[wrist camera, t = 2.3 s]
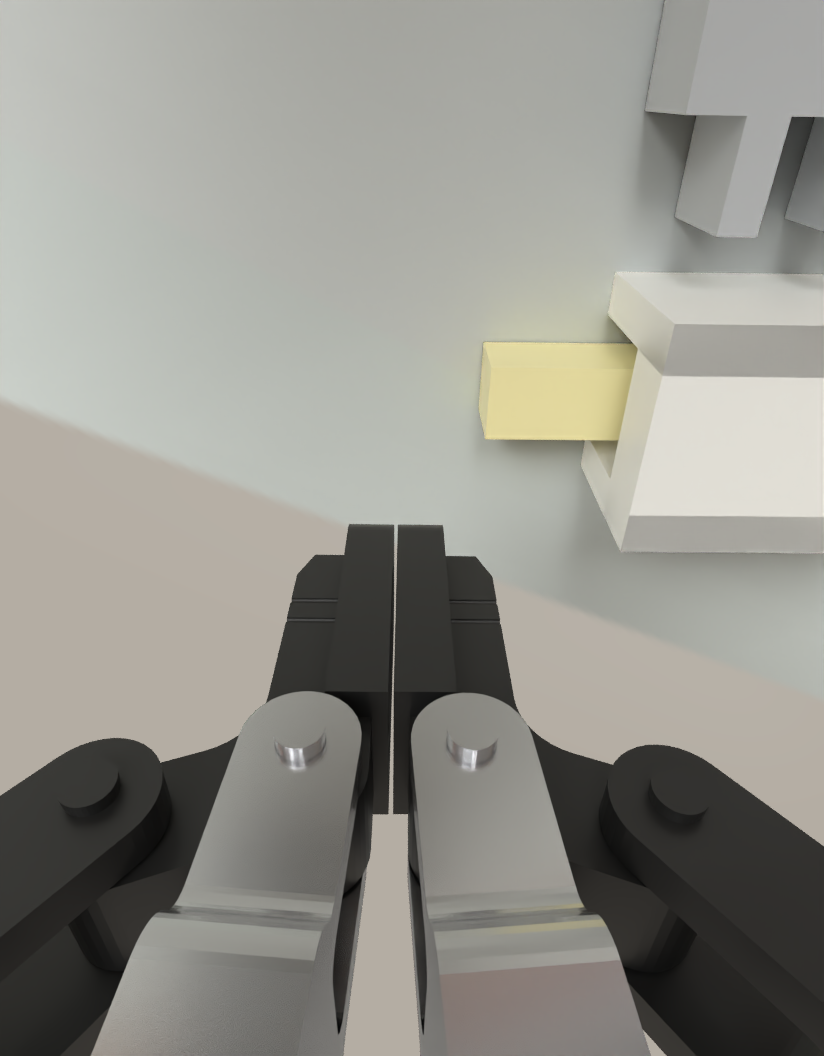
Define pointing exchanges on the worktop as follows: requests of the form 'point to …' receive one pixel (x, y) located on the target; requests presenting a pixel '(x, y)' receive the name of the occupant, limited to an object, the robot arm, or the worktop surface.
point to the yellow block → (555, 390)
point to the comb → (742, 106)
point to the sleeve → (717, 415)
